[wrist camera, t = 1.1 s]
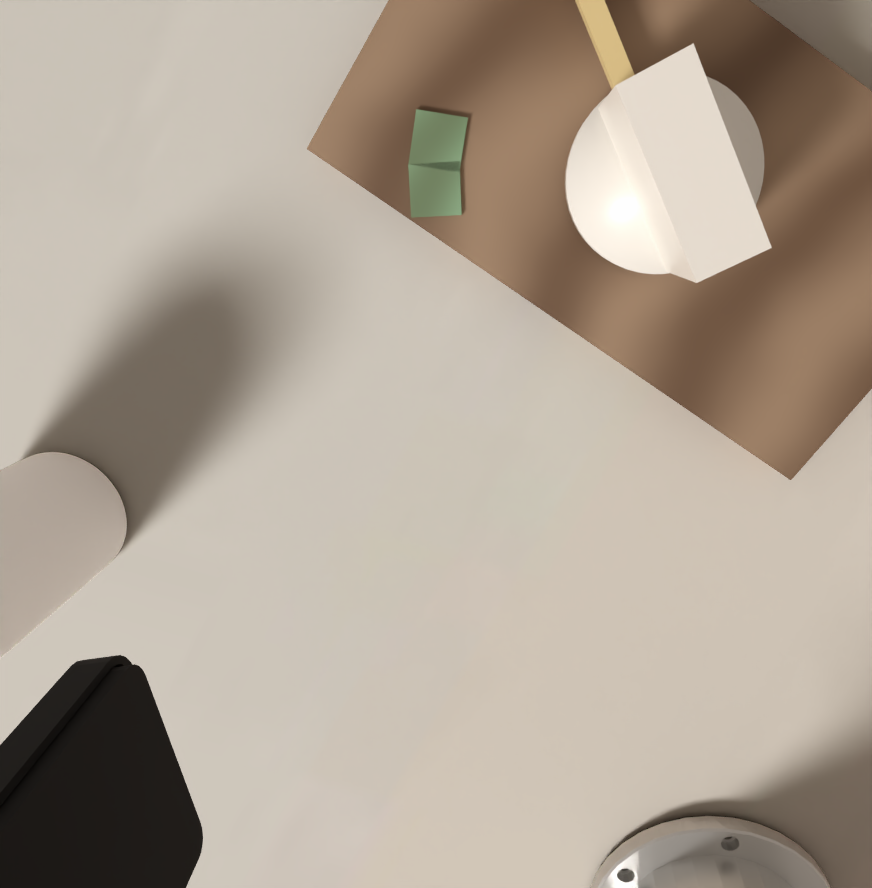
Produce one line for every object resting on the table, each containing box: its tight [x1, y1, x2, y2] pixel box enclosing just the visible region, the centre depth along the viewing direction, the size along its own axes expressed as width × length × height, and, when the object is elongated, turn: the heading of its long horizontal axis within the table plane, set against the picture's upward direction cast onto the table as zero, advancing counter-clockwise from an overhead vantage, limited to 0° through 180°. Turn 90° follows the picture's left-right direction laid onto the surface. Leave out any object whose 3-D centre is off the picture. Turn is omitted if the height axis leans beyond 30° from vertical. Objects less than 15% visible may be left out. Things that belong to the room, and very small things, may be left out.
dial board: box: [307, 0, 872, 480], centre depth 30 cm, size 24×13×2 cm, turn 57°
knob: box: [565, 0, 772, 283], centre depth 25 cm, size 14×7×6 cm, turn 27°
